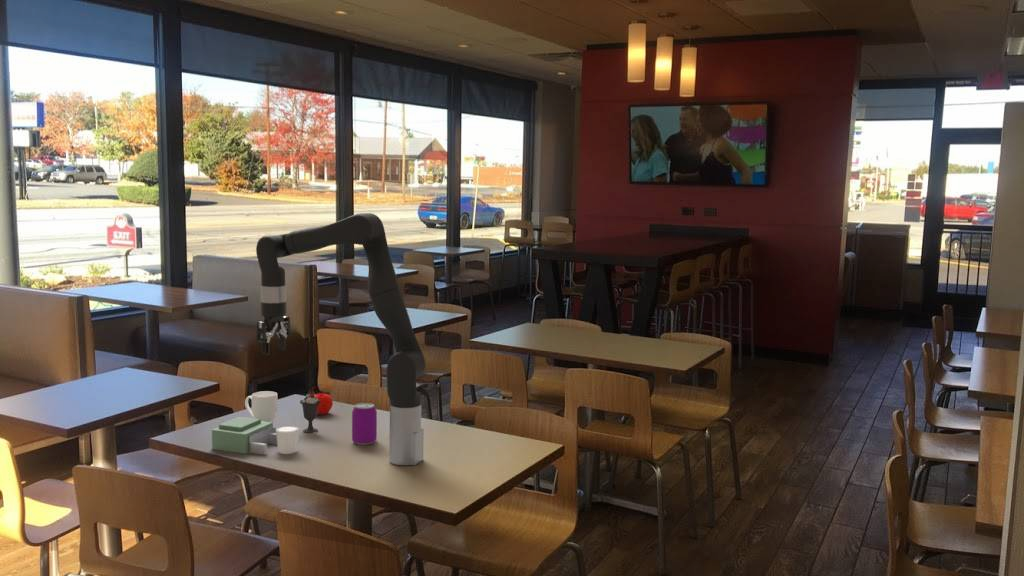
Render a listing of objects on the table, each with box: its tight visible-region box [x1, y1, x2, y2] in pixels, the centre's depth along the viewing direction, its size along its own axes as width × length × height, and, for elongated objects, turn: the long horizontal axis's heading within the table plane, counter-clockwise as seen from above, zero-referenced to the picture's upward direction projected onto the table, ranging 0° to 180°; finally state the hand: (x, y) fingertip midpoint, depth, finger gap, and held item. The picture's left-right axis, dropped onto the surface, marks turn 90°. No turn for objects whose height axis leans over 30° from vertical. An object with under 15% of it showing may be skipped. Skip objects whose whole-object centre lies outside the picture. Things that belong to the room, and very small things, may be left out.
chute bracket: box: [248, 427, 277, 456], centre depth 255 cm, size 6×11×5 cm, turn 162°
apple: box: [315, 393, 334, 415], centre depth 296 cm, size 8×8×7 cm
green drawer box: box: [211, 416, 274, 454], centre depth 258 cm, size 12×14×7 cm
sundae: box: [299, 387, 321, 434], centre depth 274 cm, size 7×7×15 cm
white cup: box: [275, 425, 300, 455], centre depth 253 cm, size 7×7×7 cm
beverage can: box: [351, 402, 378, 446], centre depth 264 cm, size 8×8×12 cm
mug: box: [244, 390, 279, 423], centre depth 278 cm, size 12×8×11 cm
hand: (274, 352), depth 257 cm, fingers open, 8 cm apart
